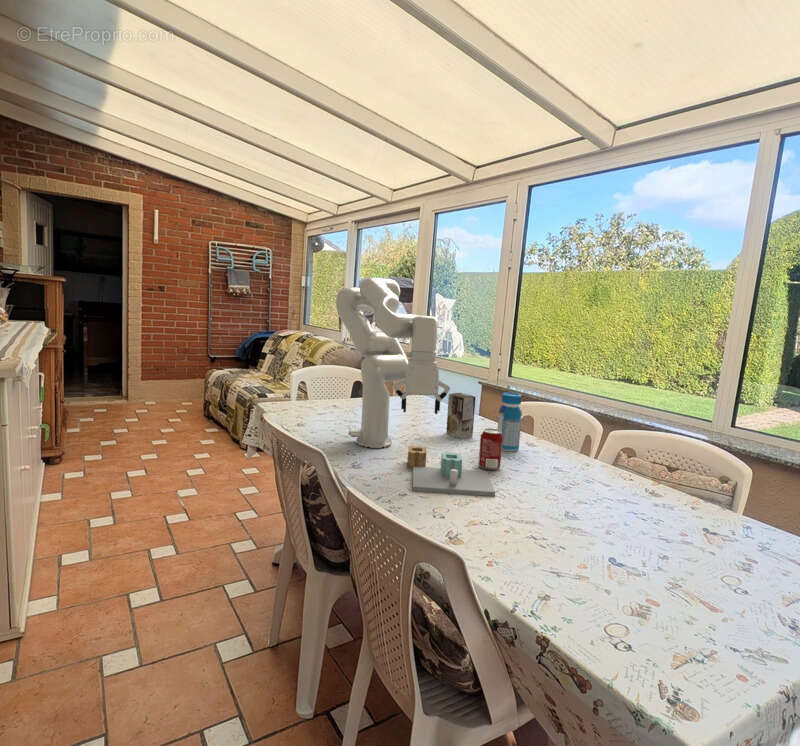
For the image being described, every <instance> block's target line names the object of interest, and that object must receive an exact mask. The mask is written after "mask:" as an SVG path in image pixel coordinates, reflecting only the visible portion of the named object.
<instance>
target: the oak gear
mask: <svg viewBox="0 0 800 746" xmlns="http://www.w3.org/2000/svg"><path fill="white" fill-rule="evenodd" d="M426 464H427V447H426V446H423V445H420V446H416V445H411V446H410V445H408V447H407V464H406V465H407V466H406V468H409V469H411V468H412V470H413V466H414V467H427V466H426Z"/></svg>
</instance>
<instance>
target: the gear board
mask: <svg viewBox="0 0 800 746" xmlns="http://www.w3.org/2000/svg"><path fill="white" fill-rule="evenodd" d="M491 481H492V480H491V479H490V476H489V473H488V472H487V471H486V470H476V469H474V470H473V469H463V458H462V455H461V453H458V452H452V453H450V452H448V451H444V452H441V460H440V467H429V466H428V467H427V466H426V467H414V466H413V469H412V491H413V492H425V493H442V494H454V495H455V494H456V495H472V496H484V497H485V496H486V497H487V496H488V497H496V490H495V487H494V485H493V484H492V482H491Z"/></svg>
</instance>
